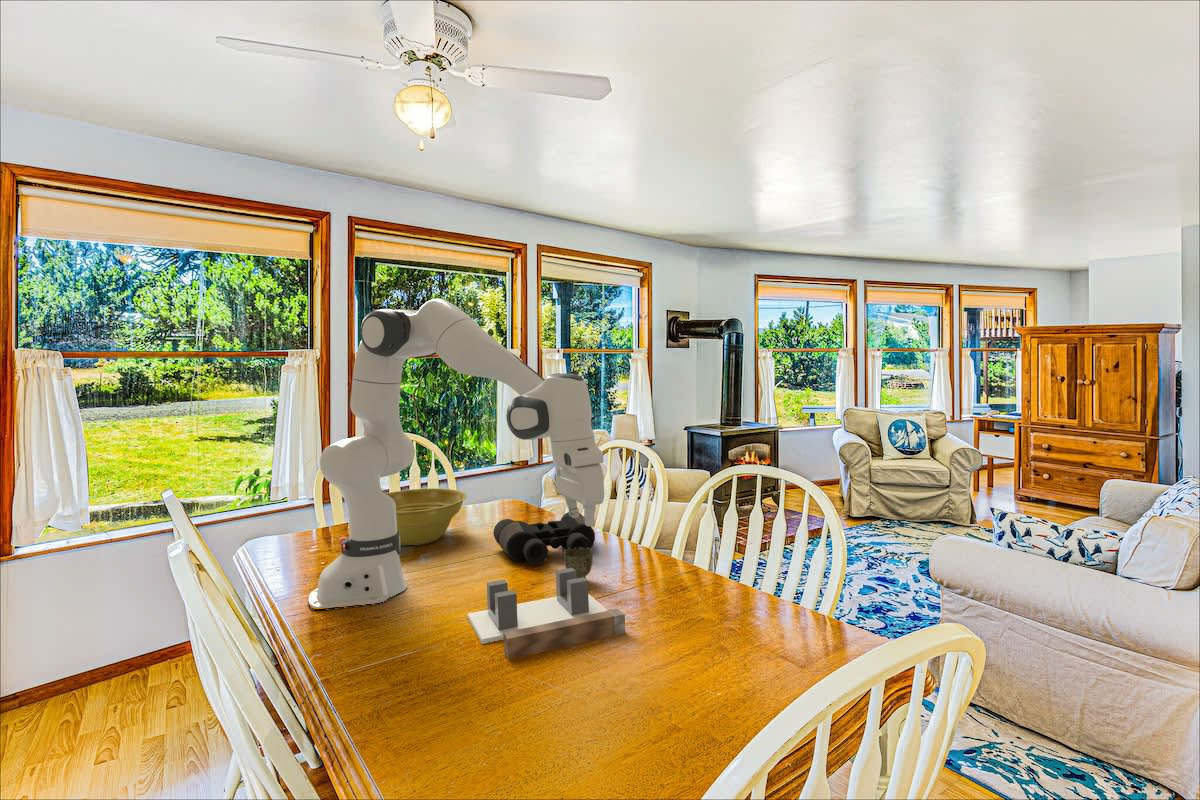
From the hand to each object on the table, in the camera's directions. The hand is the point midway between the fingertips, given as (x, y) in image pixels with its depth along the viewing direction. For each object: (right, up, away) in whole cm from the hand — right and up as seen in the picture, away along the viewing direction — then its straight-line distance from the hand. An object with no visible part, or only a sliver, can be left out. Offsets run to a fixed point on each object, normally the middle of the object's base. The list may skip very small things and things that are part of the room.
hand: (581, 521), depth 123 cm
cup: (-2, -22, +31) cm, 38 cm away
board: (-10, -23, +10) cm, 27 cm away
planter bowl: (-55, -21, +73) cm, 94 cm away
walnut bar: (-3, -24, -2) cm, 24 cm away
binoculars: (-11, -21, +55) cm, 60 cm away
